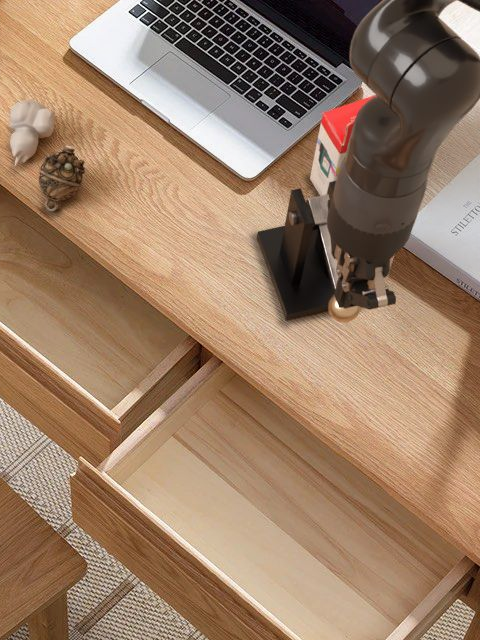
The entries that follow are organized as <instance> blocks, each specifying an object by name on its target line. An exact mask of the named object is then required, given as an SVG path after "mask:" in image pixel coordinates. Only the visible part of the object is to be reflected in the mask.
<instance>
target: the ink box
mask: <svg viewBox="0 0 480 640" xmlns="http://www.w3.org/2000/svg"><path fill="white" fill-rule="evenodd" d="M375 96H377V95H376V94H374V95H371V96H369V97H366V98H362V99H359V100H356V101H353V102H351V103H347V104H344V105H341V106H338V107H336V108H333V109H330V110H326V111H324V112H322V116H321V120H320V126H319V131H318V135H317V141H316V145H315V150H314V156H313V161H312V167H311V172H310V175H309V180H310V182H311V183H312V184H313V186H314V188H315V190H316V191H317V193H318V195H319V196H322V195H327V191H328V186H329V182H332V181H336V179H337V175H338V171H339V168H340V166H341V164H342V161H343V159H344V157H345V155H346V151H347V147H348V143H349V139H350V135H351V132H352V128H353V124H354V121H355V119H356V116H357V114H358V112H359V111H360V109H361V108H362V106H363V105H364V104H365V103H366V102H367V101H369V100H370V99H372V98H373V97H375Z"/></svg>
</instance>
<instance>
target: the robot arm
mask: <svg viewBox="0 0 480 640" xmlns="http://www.w3.org/2000/svg"><path fill="white" fill-rule="evenodd" d="M457 1H458V2H459V3H462V4H463V5H465V6H467V7H469V8H471V9H473V10H475V11H477V12H479V13H480V0H381V1H380V2H379V3H378V4H377V5H375V6H374V7H373V8H372V9H371V10H370V11H369V12H368V13H367V14H366V15H365V16H364V17H363V18H362V19H361V21H360V22H359V24H358V25H357V27H356V28H355V30H354V32H353V35H352V38H351V40H350V45H349V51H348V58H349V59H348V60H349V65H350V67H351V70H352V71H353V72H354V74H355V76H356V77H357V78H358V79H359V80H360V81H361V82H362V83H363V84H364V85H366V87H367V88H369V90H370V91H371V92H372V93H374V95H377V96H375V97H373V98H372V99H370V100H369V101H367V102H366V103H365V104H364V105H363V106H362V108H361V109H360V111H359V112H358V114H357V116H356V119H355V121H354V124H353V128H352V132H351V135H350V139H349V143H348V147H347V151H346V155H345V157H344V159H343V161H342V164H341V166H340V168H339V171H338V175H337V179H336V183H335V187H334V191H333V196H332V199H330V200H328V204H327V206H328V216H327V227H328V231H329V234H330V238H331V250H332V251H331V254H332V256H333V258H334V259H337V267H336V273H337V275H338V281H337V285H336V289H335V292H334V296H335V298H336V301H337V304H338V306H339V307H340V308H342V307H344V309H345V308H350V307H354V306H360V308H363V309H366V310H369V311H370V310H374V309H379V308H383V307H387V306H392V305H396V303H397V296H396V294H395V292H394V291H393V290H390V286H389V285H386V283H385V278H386V277H388V275H389V274H390V271H391V260H392V258H393V257H394V256H395V255H396V254H398V253H399V252H400V251H401V250H402V249H403V248H404V247H405V246H406V244H407V243H408V241H409V239H410V236H411V234H412V232H413V228H414V227H415V223H416V220H417V217H418V214H419V211H420V209H421V206H422V203H423V200H424V198H425V194H426V191H427V186H428V178H429V174H430V171H431V168H432V167H433V162H434V160H435V157H436V154H437V151H438V150H439V148H440V147H441V145H442V144H443V143H444V141H445V140H446V139H447V137H448V136H449V134H450V133H451V132H452V131H453V130H454V128H455V127H456V126H457V125H458V124H459V123H460V122H461V121H462V120H463V119H464V118H465V117H466V116H467V115H468V114H469V113H470V112H471V111H472V110H473V109H474V108H475V106H476V105H477V104H478V102H479V101H480V54H478V52H477V51H476V50H475V49H474V48H473V47H472V46H471V45H469V44H468V43H467V42H466V41H465V40H464V39H463V38H462V37H461V36H459V34H458V33H457V32H455V31H454V30H453V29H452V28H451V27H450V26H449V25H448V24H447V23H446V22H445V21H443V19H442V18H440V15H441V14H442V12H443V11H444V10H445V9H446V8H447V7H448V6H449V5H452V4H453V3H455V2H457Z"/></svg>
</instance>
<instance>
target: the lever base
mask: <svg viewBox="0 0 480 640" xmlns="http://www.w3.org/2000/svg"><path fill="white" fill-rule="evenodd" d="M335 183H336V181H332V182H329V186H328V191H327V194H329V197H330V199H332V196H333V191H334V187H335ZM306 201H307V200H306V198H305V196H304V193H303V191H302V189H301V188H295V189H291V190H290V195H289V201H288V205H287V211H286V217H285V222H284V225H281V226H277V227H273V228H268V229H262V230H258V231H257V233H256V240H257V243H258V246H259V249H260V251H261V255H262V258H263V260H264V264H265V265H266V269H267V272H268V274H269V277H270V280H271V282H272V286H273V288H274V291H275V294H276V297H277V300H278V302H279V305H280V309H281V311H282V313H283V317H284V319H285V321H290V320H296V319H300V318H305V317H309V316H314V315H318V314H322V313H327V312H328V313H329V311H328V303H329V300H330V298H331V297H332V296H333V295H334V292H333V288H332V284H331V280H330V277H329V273H328V269H327V265H326V261H325V258H324V254H323V250H322V246H321V242H320V239H319V235H318V231H317V230H312V229H313V225H314V222H313V219H312V217H311V214H310V212H309V209H308V206H307V204H306Z"/></svg>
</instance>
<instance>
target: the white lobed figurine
mask: <svg viewBox="0 0 480 640" xmlns="http://www.w3.org/2000/svg"><path fill="white" fill-rule="evenodd" d="M9 118H10V119H9V125H10V127H11V128H12V130H13V133H12V134H11V136H10V140H9V146H10V149H11V154H12V156H13V157H14V158H15V161H14V167H16V166H17V165H18V164H19V162H20V161H22V163H26V162H27V161H28V160H29V159H31V157H33V156H34V155H35V154H36V152H37V148H38V145H39V139H44V138H49V137H50V136H51V135H52V134H53V133H54V128H55V119H54V118H55V112H54V111H52V110H51V109H48V107H46V106H45V105H44V104H42V103H41V102H39V101H37V100H34V99H23V100H20V101H18V102H16V103H14V105H13V106H12V108H11V110H10V113H9Z"/></svg>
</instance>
